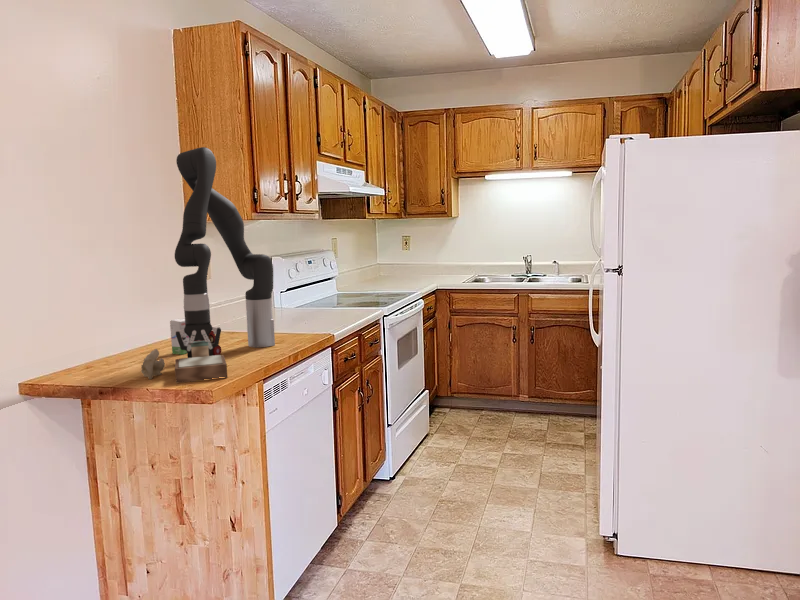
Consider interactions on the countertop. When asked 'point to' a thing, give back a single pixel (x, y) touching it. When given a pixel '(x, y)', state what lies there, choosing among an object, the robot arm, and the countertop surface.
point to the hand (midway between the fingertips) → (200, 361)
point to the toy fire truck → (212, 338)
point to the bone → (152, 365)
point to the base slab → (200, 368)
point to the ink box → (176, 326)
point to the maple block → (199, 349)
